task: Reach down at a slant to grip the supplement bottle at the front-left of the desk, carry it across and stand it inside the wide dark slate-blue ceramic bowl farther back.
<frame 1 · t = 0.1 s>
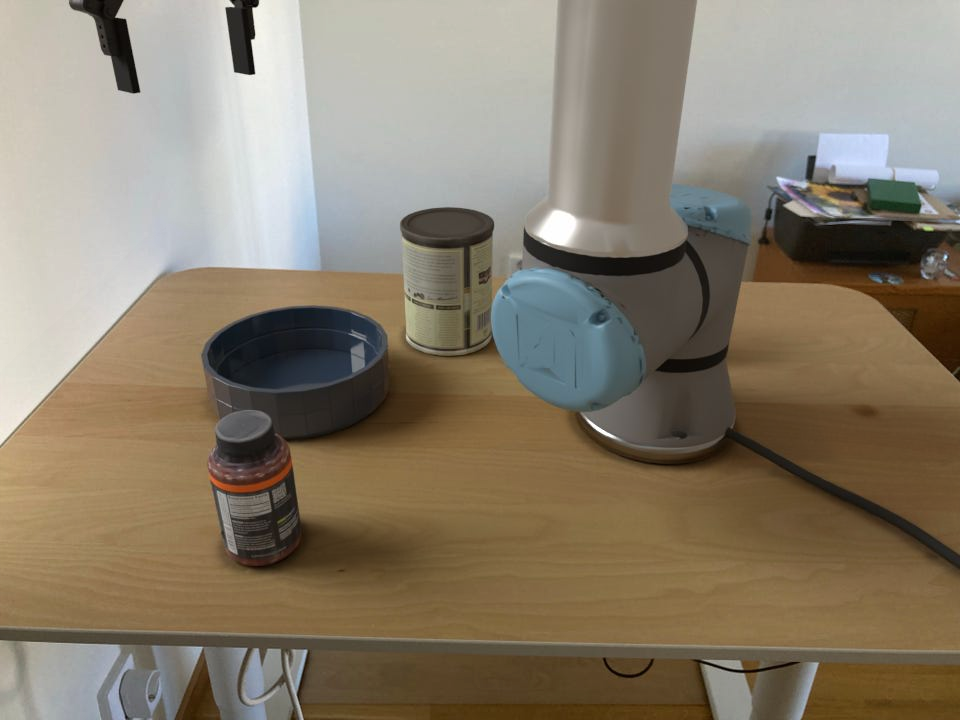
hand: (190, 82, 80), 28 cm above the table, tool pointing down, fingers open, 13 cm apart
bowl: (302, 390, 81), on the table
supplement bottle: (264, 544, 61), on the table
coffee can: (448, 337, 92), on the table
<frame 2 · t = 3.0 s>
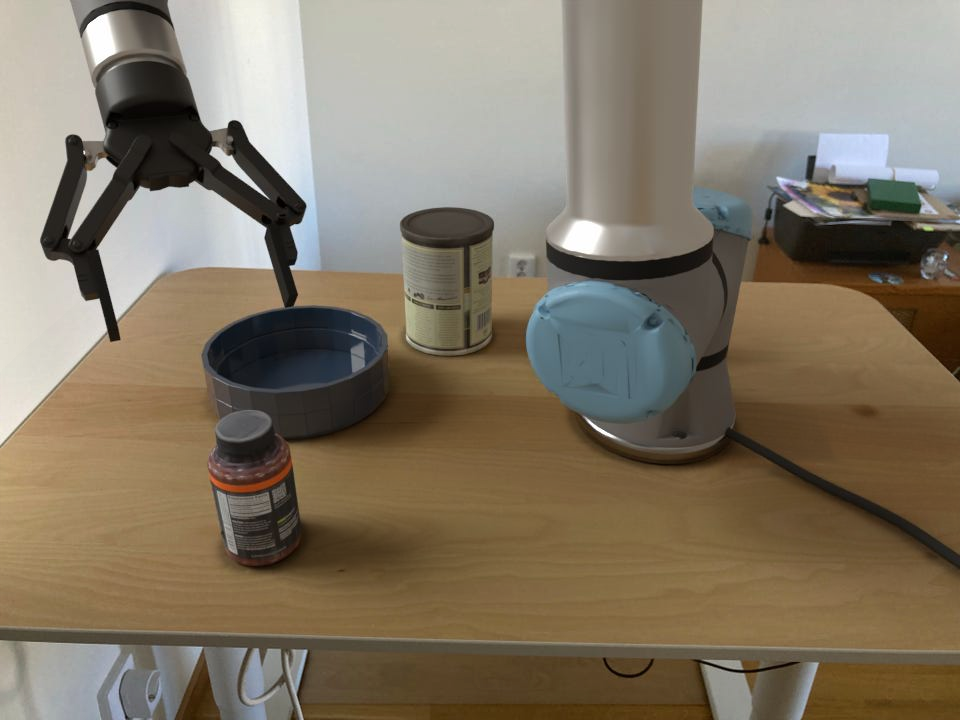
hand: (207, 318, 61), 15 cm above the table, tool tilted 45°, fingers open, 13 cm apart
nothing on the table moved.
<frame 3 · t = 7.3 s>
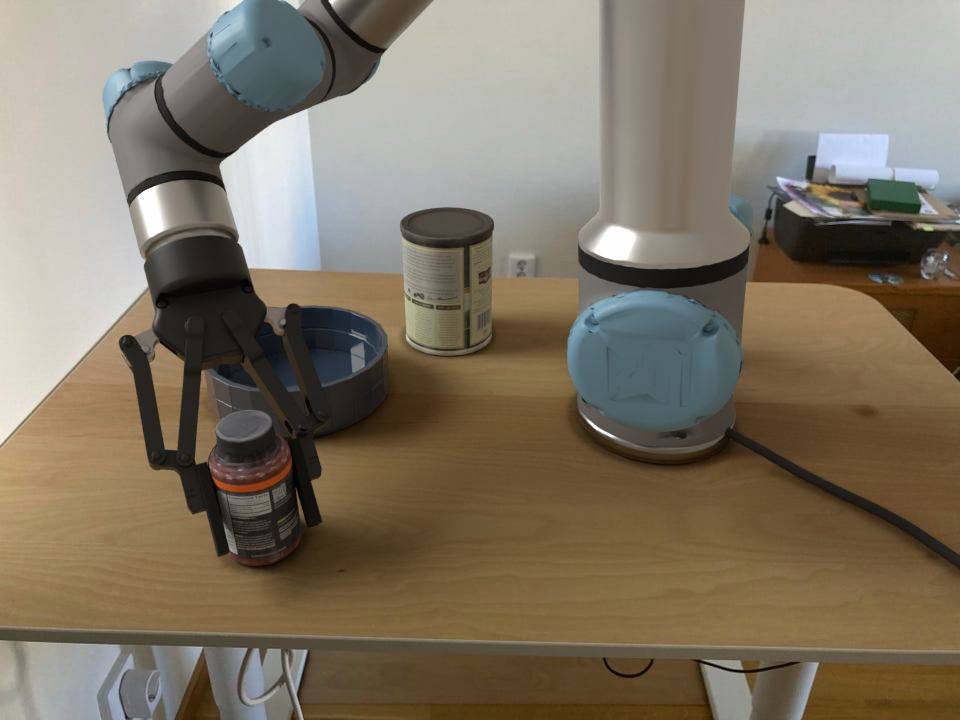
hand: (270, 538, 56), 3 cm above the table, tool tilted 45°, fingers closed on supplement bottle, 6 cm apart
supplement bottle: (264, 544, 61), on the table, touching gripper
everything else where it was.
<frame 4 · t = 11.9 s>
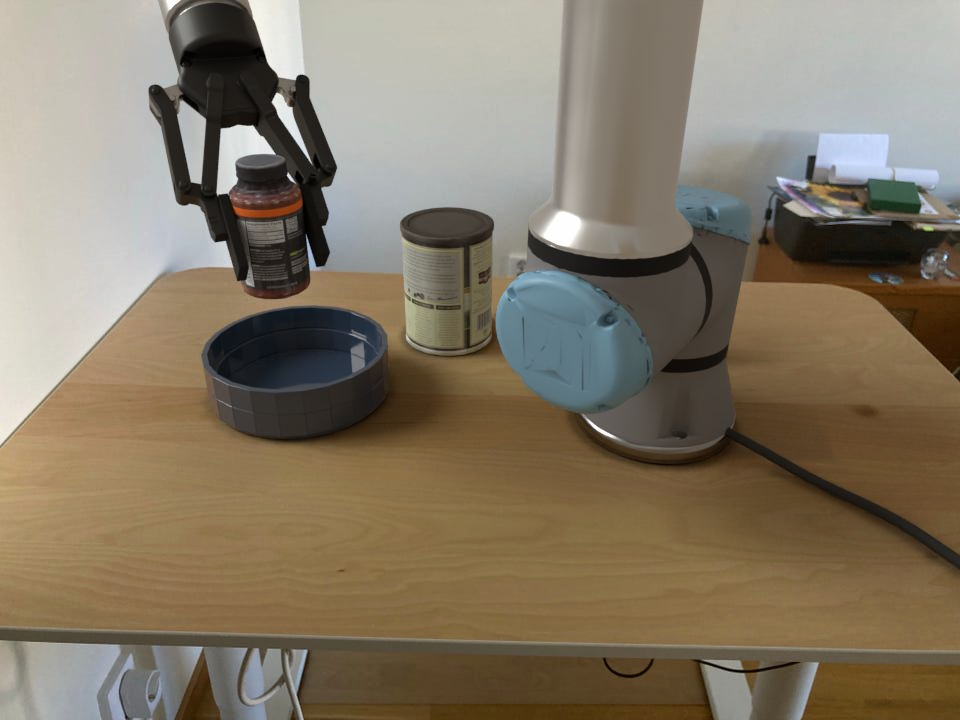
hand: (283, 266, 64), 18 cm above the table, tool tilted 45°, fingers closed on supplement bottle, 6 cm apart
supplement bottle: (277, 290, 68), point 14 cm above the table, touching gripper
everything else where it was.
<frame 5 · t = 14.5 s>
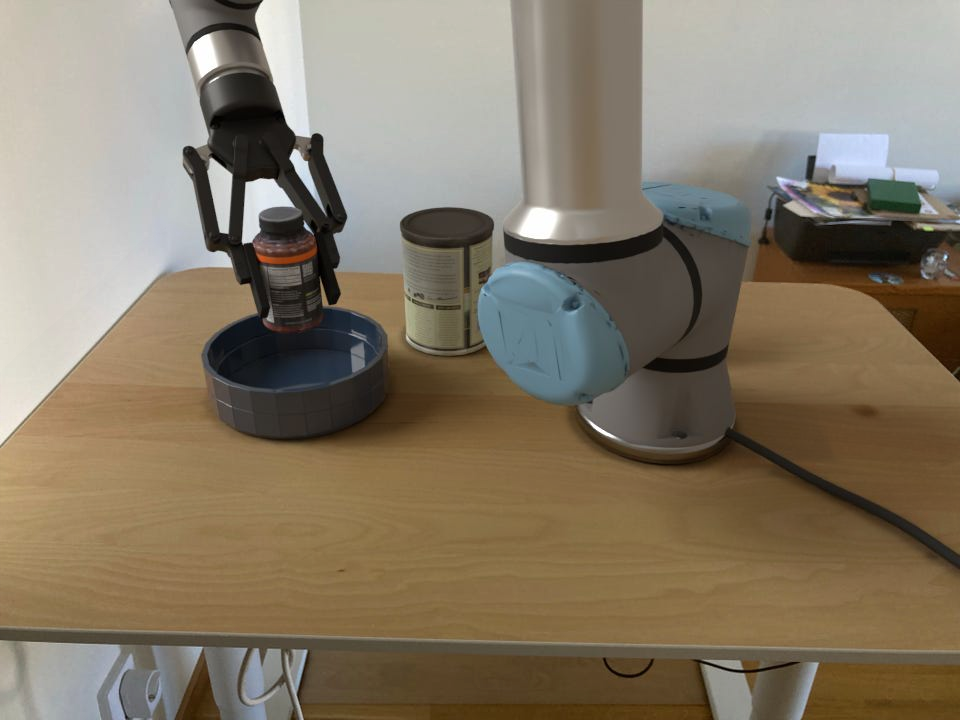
hand: (300, 305, 72), 11 cm above the table, tool tilted 45°, fingers closed on supplement bottle, 6 cm apart
supplement bottle: (293, 324, 77), point 8 cm above the table, touching gripper
everything else where it was.
when the fingers open (4 cm above the table, at t = 16.8 s): supplement bottle stays where it is, resting on bowl.
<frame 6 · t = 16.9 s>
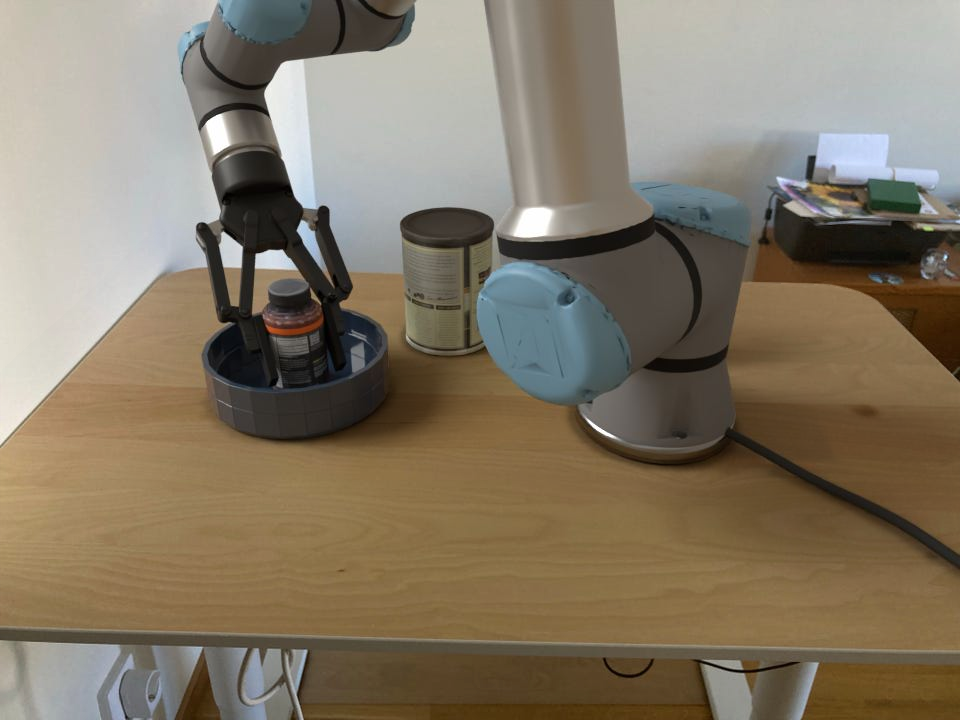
hand: (307, 374, 76), 4 cm above the table, tool tilted 45°, fingers open, 6 cm apart
supplement bottle: (301, 387, 80), resting on bowl
everything else where it was.
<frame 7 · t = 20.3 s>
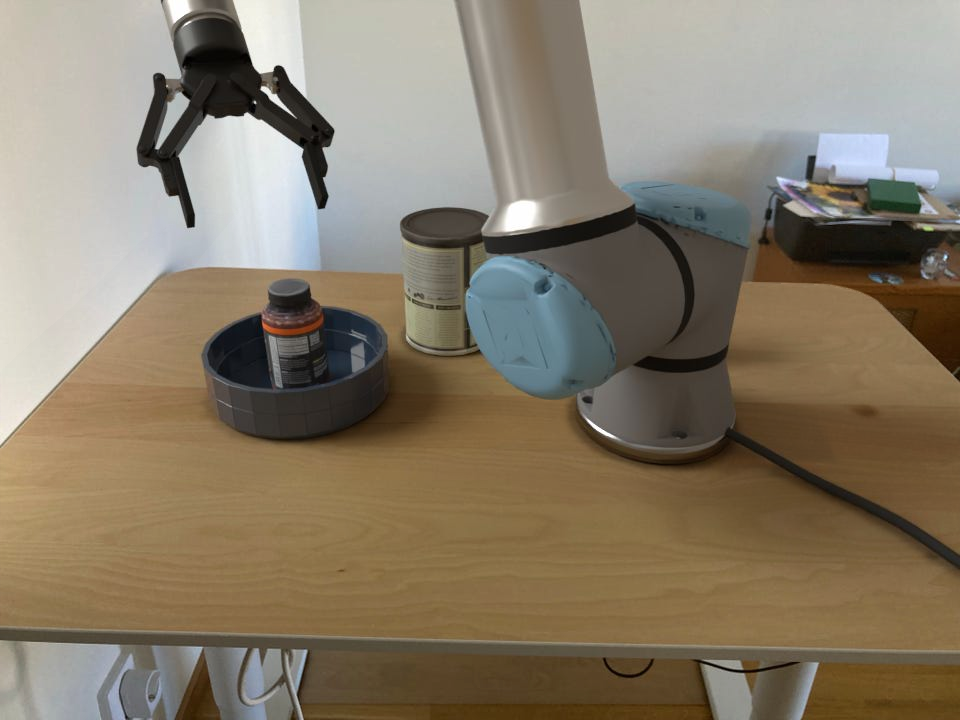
hand: (259, 212, 80), 16 cm above the table, tool tilted 45°, fingers open, 13 cm apart
nothing on the table moved.
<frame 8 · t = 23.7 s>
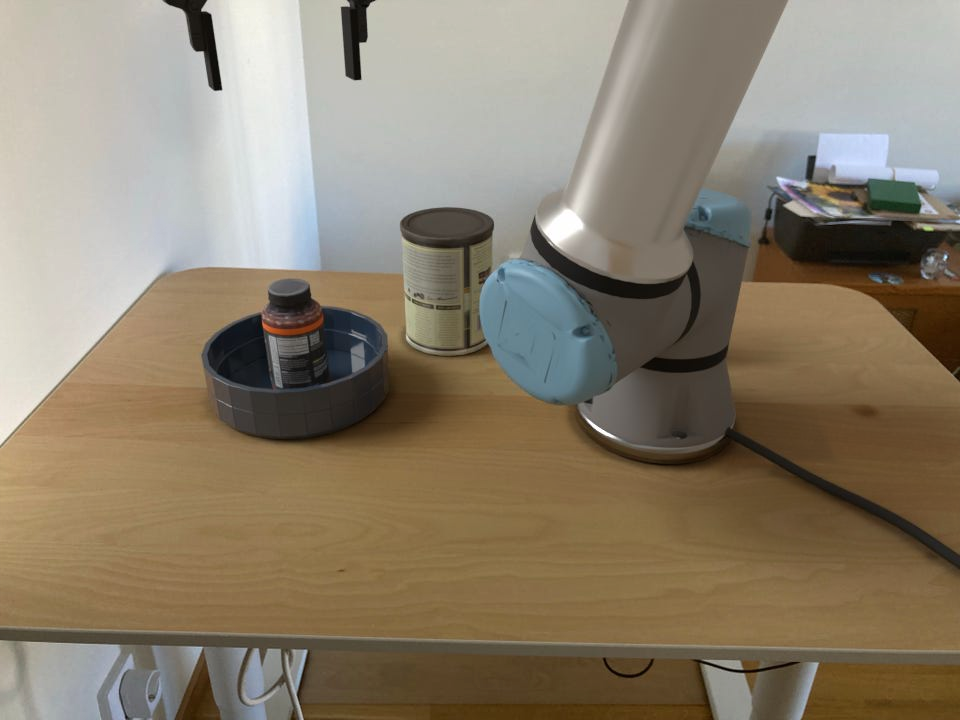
hand: (287, 83, 76), 29 cm above the table, tool pointing down, fingers open, 13 cm apart
nothing on the table moved.
at the end: supplement bottle inside the target area in the bowl (0.1 cm from its centre), point 0.4 cm above the bowl's base; supplement bottle tilted 0°; the gripper is holding nothing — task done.
